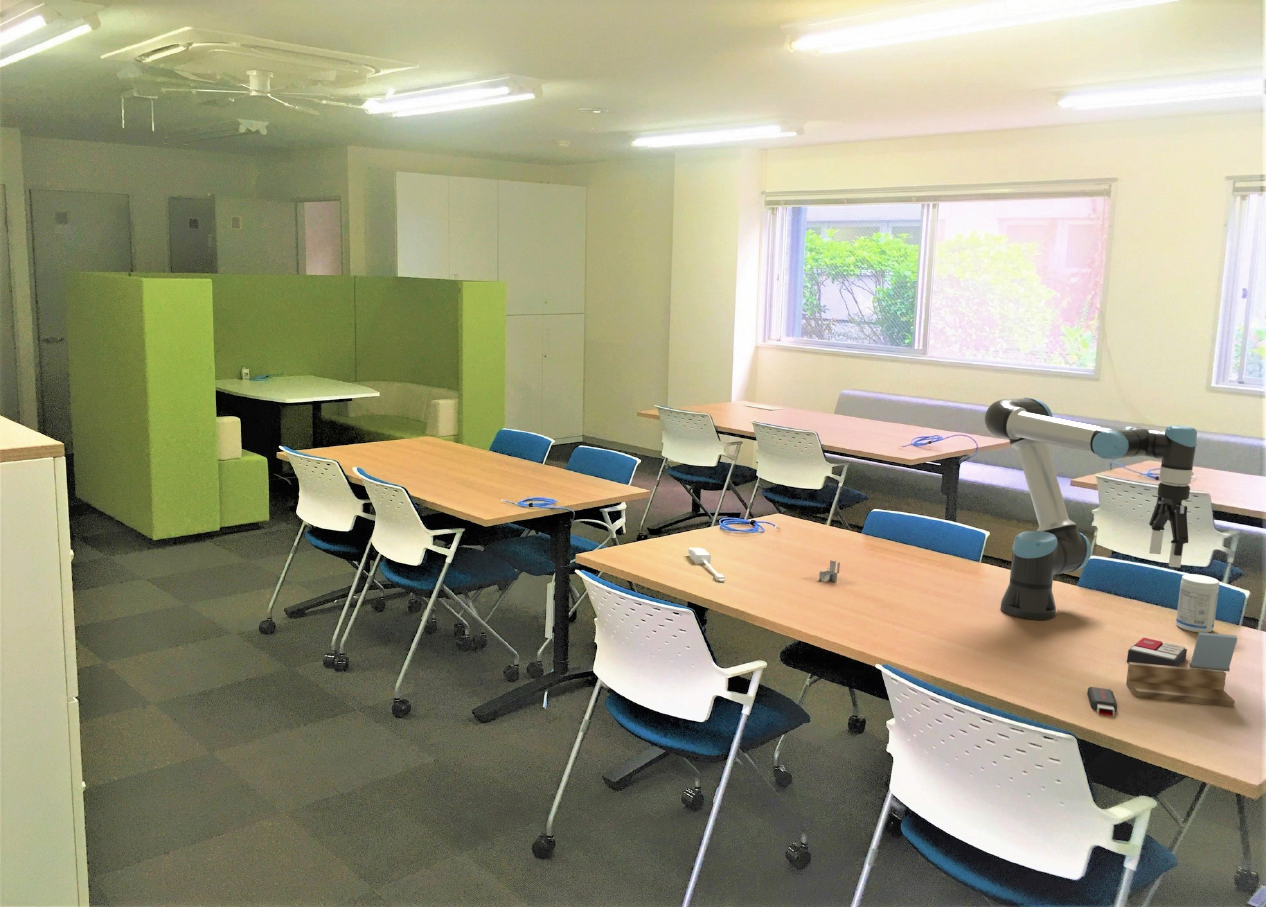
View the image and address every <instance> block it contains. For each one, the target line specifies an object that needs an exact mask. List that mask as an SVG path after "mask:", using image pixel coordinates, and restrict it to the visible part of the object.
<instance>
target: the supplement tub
mask: <svg viewBox="0 0 1266 907" xmlns="http://www.w3.org/2000/svg"><path fill="white" fill-rule="evenodd" d="M1219 591H1220V581H1219V580H1218V579H1216V578H1214V577H1212V576H1207V575H1202V574H1195V573H1193V574H1189V573H1188V574H1183V575H1181V580H1180V586H1179V595H1178V602H1177V611H1176V620H1175V624H1176V626H1177V627H1178V628H1181V629H1183V630H1184V631H1185V630H1186V631H1188V632H1193V633H1199V632H1202V633H1210V632H1212V631H1213V630H1214V628H1215V621H1216V614H1217V604H1218V598H1219Z"/></svg>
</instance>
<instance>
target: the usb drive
mask: <svg viewBox="0 0 1266 907" xmlns="http://www.w3.org/2000/svg"><path fill="white" fill-rule="evenodd" d="M1086 694H1087V698H1088V701H1089V702H1088V703H1089V704H1090V708H1091V709H1093V711H1096V714H1097V715H1102V716H1110V717H1115V713H1117V711H1118V703H1117V699H1116V697H1115V695H1114V694H1115V693H1114V692H1113V690H1111V689H1110V688H1103V687H1095V686H1089V687H1088V688H1087V693H1086Z"/></svg>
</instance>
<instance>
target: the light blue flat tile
mask: <svg viewBox="0 0 1266 907" xmlns="http://www.w3.org/2000/svg"><path fill="white" fill-rule="evenodd" d="M1197 633H1198V632H1197ZM1237 641H1238V636H1237V635H1232V634H1222V633H1210V632H1208V633H1202V632H1199V633H1198V634H1197V638H1196V642H1195V644H1194V649H1193V652H1192V653H1193V654H1192V655H1191V656H1192V657H1191V661H1190V662H1189V664H1188V666H1189V667H1188V668H1195V669H1206V670H1216V671H1224V672H1230V670H1231V668H1230V665H1231V662H1232V659H1233V655H1234V652H1235V649H1236V644H1237Z"/></svg>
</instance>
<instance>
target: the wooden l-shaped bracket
mask: <svg viewBox="0 0 1266 907" xmlns="http://www.w3.org/2000/svg"><path fill="white" fill-rule="evenodd" d="M1226 678H1227V673H1226V671H1217V670H1207V669H1197V668H1190V667H1184V666H1179V667H1175V666H1164V665H1154V664H1144V663H1133V662H1129V663H1128V667H1127V674H1126V680H1125V682H1126V683H1125V685H1126V686H1127V688H1128V689H1129V690H1130V691H1131V692H1132V694H1133V696H1135V697H1136V698H1141V699H1151V700H1161V701H1172V702H1180V703H1181V702H1182V703H1190V704H1191V703H1192V704H1199V705H1209V706H1219V707H1228V708H1229V707H1230V708H1235V702H1236V701H1235V699H1233V697H1232V696H1231V695H1230V694H1228V693H1227V692H1226V691H1225V687H1226V686H1225V685H1226Z"/></svg>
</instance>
